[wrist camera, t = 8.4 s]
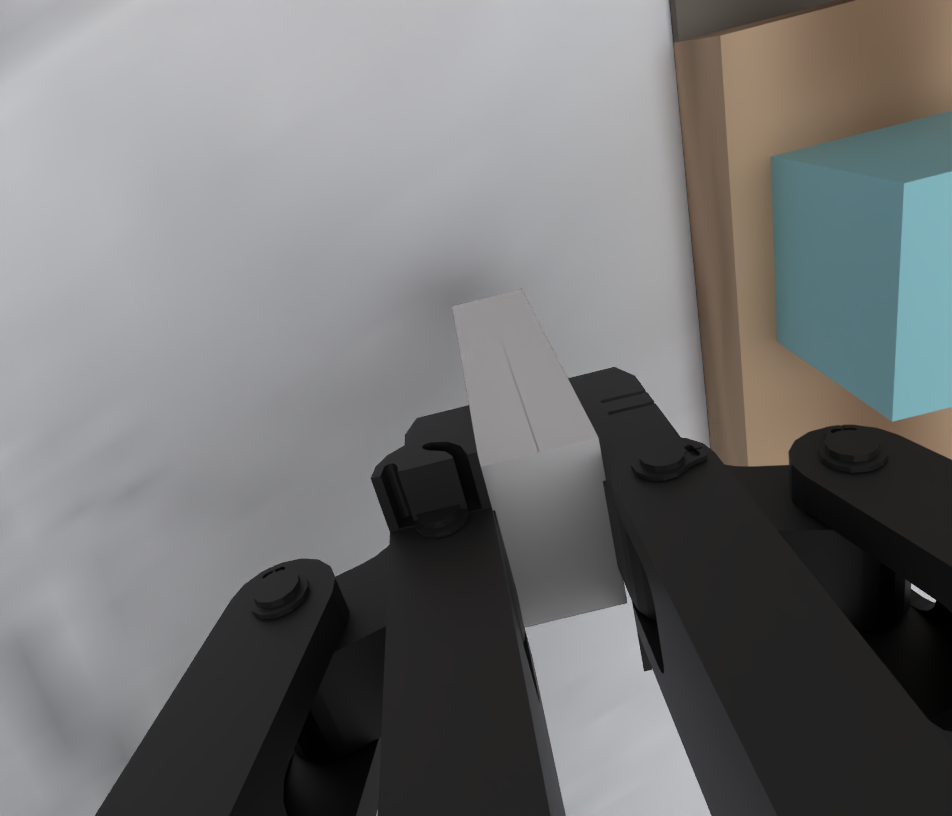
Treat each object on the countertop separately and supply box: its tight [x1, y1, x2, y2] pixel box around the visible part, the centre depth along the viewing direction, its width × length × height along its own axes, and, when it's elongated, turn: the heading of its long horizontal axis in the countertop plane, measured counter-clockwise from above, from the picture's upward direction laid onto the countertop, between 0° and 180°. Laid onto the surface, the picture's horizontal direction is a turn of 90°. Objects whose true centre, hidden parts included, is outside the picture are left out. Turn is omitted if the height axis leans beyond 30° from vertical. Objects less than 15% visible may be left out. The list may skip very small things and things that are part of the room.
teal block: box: [771, 111, 952, 422], centre depth 16 cm, size 5×5×5 cm
